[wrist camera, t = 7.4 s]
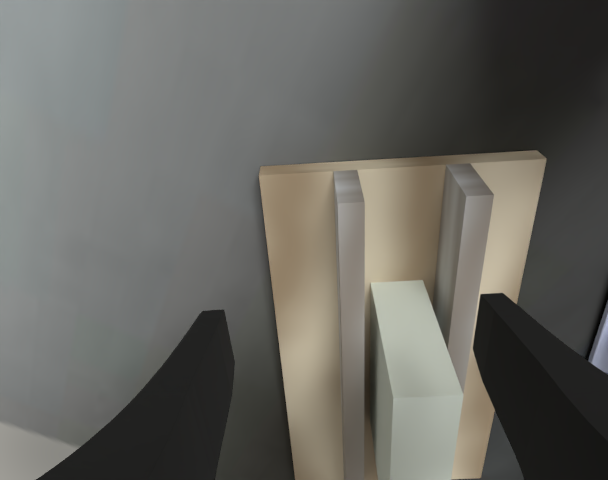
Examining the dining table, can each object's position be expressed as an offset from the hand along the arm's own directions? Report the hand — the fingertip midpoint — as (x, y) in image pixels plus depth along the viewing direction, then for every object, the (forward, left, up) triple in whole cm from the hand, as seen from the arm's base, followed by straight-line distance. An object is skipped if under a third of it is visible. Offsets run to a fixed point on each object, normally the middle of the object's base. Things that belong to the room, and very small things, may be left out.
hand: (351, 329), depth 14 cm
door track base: (-3, +10, -10) cm, 14 cm away
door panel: (-3, +10, -9) cm, 13 cm away
